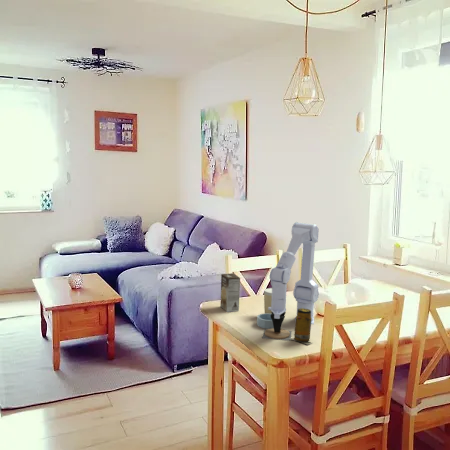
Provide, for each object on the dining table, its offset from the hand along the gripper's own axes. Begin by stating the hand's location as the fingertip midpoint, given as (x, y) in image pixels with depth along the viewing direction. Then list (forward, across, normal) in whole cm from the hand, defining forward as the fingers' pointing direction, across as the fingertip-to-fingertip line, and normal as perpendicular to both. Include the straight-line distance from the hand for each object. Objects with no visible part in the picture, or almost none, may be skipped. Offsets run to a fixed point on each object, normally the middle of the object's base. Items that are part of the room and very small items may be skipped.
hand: (277, 330), depth 192 cm
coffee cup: (+2, -24, -4) cm, 24 cm away
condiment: (+2, +4, +10) cm, 11 cm away
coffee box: (+2, -30, -24) cm, 39 cm away
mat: (+2, 0, 0) cm, 2 cm away
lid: (+2, 0, 0) cm, 2 cm away
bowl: (+2, -11, -4) cm, 12 cm away
